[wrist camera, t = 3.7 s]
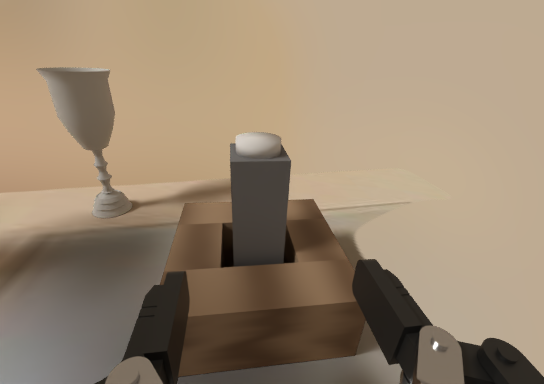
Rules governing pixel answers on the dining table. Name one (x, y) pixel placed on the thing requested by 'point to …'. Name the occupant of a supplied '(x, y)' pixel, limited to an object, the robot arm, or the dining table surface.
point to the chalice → (88, 123)
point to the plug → (259, 198)
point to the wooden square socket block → (263, 294)
